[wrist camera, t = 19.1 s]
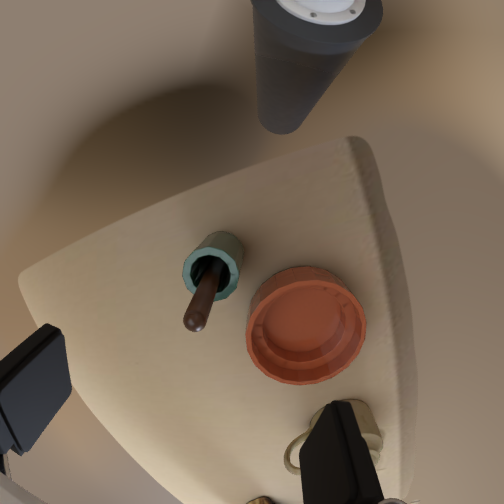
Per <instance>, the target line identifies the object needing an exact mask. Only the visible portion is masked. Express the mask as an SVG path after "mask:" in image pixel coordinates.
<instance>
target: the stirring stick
mask: <svg viewBox="0 0 504 504" xmlns="http://www.w3.org/2000/svg"><path fill="white" fill-rule="evenodd" d="M225 265H226V263H225V262H224V261H223V260H222V259H221V258H220V257H216V256H212V258H211V260H210V262H209V264H208V266H207V268H206V270H205V272H204V274H203V277H202V279H201V281H200V283H199V285H198V287H197V289H196V291H195V293H194V295H193V298H192V300H191V302H190V304H189V306H188V308H187V310H186V313H185V315H184V318H183V323H184V325H185V327H186V328H187V329H188V330H190V331H192V332H198V331H201V330H202V329H203V328H204V327H205V325H206V322H207V319H208V316H209V313H210V310H211V307H212V304H213V301H214V298H215V295H216V292H217V289H218V286H219V283H220V280H221V277H222V274H223V271H224V268H225Z"/></svg>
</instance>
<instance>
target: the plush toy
mask: <svg viewBox="0 0 504 504" xmlns="http://www.w3.org/2000/svg"><path fill="white" fill-rule="evenodd" d="M247 504H275V503H273V502H272V501H271V499H269V498H266V497H262V498H258V499H256V500H253V501H251V502H249V503H247Z"/></svg>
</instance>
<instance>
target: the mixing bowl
mask: <svg viewBox="0 0 504 504" xmlns="http://www.w3.org/2000/svg"><path fill="white" fill-rule="evenodd" d="M365 334H366V319H365V315H364V312H363V308H362V306H361V305H360V303H359V302H358V301H357V299H356V298H355V297H354V295H353V294H352V293H351V291H350V290H349V289H348V288H347V286H346V285H345V284H344V283H343V281H342V280H341V279H340V278H338V277H337V276H335V275H334V274H332V273H330V272H329V271H327V270H324V269H320V268H315V267H311V266H307V267H294V268H290V269H287V270H285V271H282V272H280V273H277V274H275V275H273V276H272V277H271V278H270V279H268V280H267V281H266V282H265V283H263V284H262V285H261V286H260V287H259V289H258V290H257V292H256V293H255V295H254V296H253V298H252V300H251V303H250V307H249V311H248V315H247V324H246V344H247V351H248V353H249V355H250V357H251V359H252V361H253V363H254V364H255V366H256V367H258V368H259V369H260V370H261V371H262V372H263V373H264V374H265V375H266V376H268V377H270V378H272V379H274V380H277V381H279V382H281V383H286V384H293V385H307V384H316V383H319V382H321V381H324V380H327V379H330V378H332V377H334V376H335V375H337V374H338V373H340V372H341V371H343V370H344V369H346V368H347V367H348V366H349V365H350V363H351V362H352V361H353V360H354V359H355V358H356V356H357V355H358V354H359V351H360V349H361V347H362V345H363V342H364V340H365Z"/></svg>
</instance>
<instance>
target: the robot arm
mask: <svg viewBox="0 0 504 504" xmlns="http://www.w3.org/2000/svg"><path fill="white" fill-rule="evenodd" d="M276 1H277V2H278V4H279V5H280V6H281V7H282V8H284V9H285V10H286V11H287V12H289V13H290V14H292V15H294V16H296V17H298V18H300V19H303V20H305V21H308V22H312V23H316V24H322V25H340V24H344V23H348V22H350V21H352V20H354V19H356V18H357V17H358V16H359V15H360V14H361V12H362V11H363V9H364V7H365V1H366V0H276ZM71 390H72V386H71V380H70V374H69V368H68V362H67V354H66V347H65V338H64V335H63V334H62V332H61V330H60V329H59V328H57V327H55V326H52V325H50V324H48V323H46V324H44V325H43V326H42V327H40V328H39V329H38V330H37V331H35V332H34V333H33V334H32V335H31V336H29V337H28V338H27V339H26V340H25V341H23V342H22V343H21V344H20V345H18V346H17V347H16V348H15V349H14V350H13V351H11V352H10V353H9V354H8V355H7V356H6V357H4V358H3V359H2V360H1V361H0V504H47V503H46V502H44V501H42V500H41V499H39V498H38V497H36V496H34V495H33V494H31V493H30V492H28V491H27V490H25V489H24V488H22V487H20V486H19V485H18V484H16V483H15V482H14V481H12V479H11V474H10V469H9V463H8V457H7V451H8V450H9V449H11V450H13V451H14V452H15V453H17V454H18V455H20V456H22V455H23V453H24V452H28V451H29V450H30V449H31V448H32V446H33V445H34V443H35V442H36V440H37V439H38V438H39V436H40V435H41V433H42V432H43V431H44V429H45V428H46V427H47V425H48V424H49V422H50V421H51V420H52V418H53V417H54V416H55V414H56V413H57V412H58V410H59V409H60V408H61V406H62V405H63V404H64V402H65V401H66V400H67V399H68V397H69V396H70V394H71ZM299 461H300V471H301V481H302V491H303V502H304V504H407V503H405V502H403V501H402V500H399V499H396V498H389V499H384V496H383V493H382V490H381V486H380V483H379V480H378V477H377V473H376V470H375V467H374V464H373V461H372V458H371V455H370V451H369V448H368V445H367V442H366V440H365V439H364V438H363V437H362V435H361V432H360V429H359V426H358V423H357V420H356V417H355V414H354V411H353V408H352V405H351V403H350V402H348V401H336V400H334V401H332V402H331V404H327V405H326V406H325V408H324V410H323V411H322V413H321V415H320V417H319V418H318V420H317V422H316V424H315V425H314V427H313V429H312V431H311V432H310V434H309V436H308V437H307V439H306V441H305V442H304V444H303V445H302V447H301V449H300V452H299Z"/></svg>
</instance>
